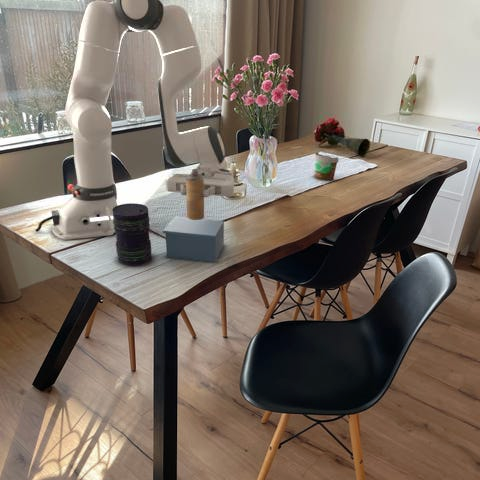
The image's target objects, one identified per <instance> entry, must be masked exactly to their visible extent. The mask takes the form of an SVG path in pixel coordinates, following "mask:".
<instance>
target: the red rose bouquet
mask: <svg viewBox="0 0 480 480" xmlns="http://www.w3.org/2000/svg"><path fill="white" fill-rule="evenodd" d="M313 134H314V137H313V138H314V140H315V142H317V143H318V145H317V147H319V146H321V145H322V144H325V143H327V144H328V145H329V146H337V145H338V144H340V145H343V146H344V147H346V148H347V149H349V150H350V151H351V152H353V153H354V154H355V155H357V156H359V157H361V158H364V157H366V155H367V154H368V153H369V151H370V147H371V141H370V140H369V139H368V138H349V137H346V135H345V130H344V128H343V127H342V126H341V125H340V122H339V120H338V119H335V117H329V118H328V119H326V121H324V122H322V123H320V125H317V126H316V128H315V129H314V133H313Z"/></svg>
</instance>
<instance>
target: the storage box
mask: <svg viewBox="0 0 480 480" xmlns="http://www.w3.org/2000/svg"><path fill="white" fill-rule="evenodd" d="M224 235H225V223H224V224H223V226H222V228H221V229H220V231H219V233H218V235H217V237H216V238H205V237H195V236H185V235H175V234H165V247H166V258H172V259H182V260H190V261H191V260H192V261H200V262H210V263H216V262H217V260H218V258H219V256H220V254H221V252H222V250H223V248H224V246H225V245H224V243H225V236H224Z"/></svg>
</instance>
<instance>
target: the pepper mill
mask: <svg viewBox="0 0 480 480" xmlns="http://www.w3.org/2000/svg"><path fill="white" fill-rule="evenodd" d="M203 190H204V179H203V178H202V175H201V174H198V171H197V170H196V168H193V169H191V171H190V173H189V175H188V176H187V178H186V195H185V196H186V197H185V198H186V217H187V218H188V219H191V220H200V219H205V197H203Z"/></svg>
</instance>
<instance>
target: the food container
mask: <svg viewBox="0 0 480 480" xmlns="http://www.w3.org/2000/svg"><path fill="white" fill-rule="evenodd" d="M313 160H314V178H315V179H317V180H319V181H334V178H335V173H336V170H337V165H338V163H339V157H338V156H337V157H332V156H330V155H326V154H325V155H323V154H319V151H316V152H315V153H314V154H313Z"/></svg>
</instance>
